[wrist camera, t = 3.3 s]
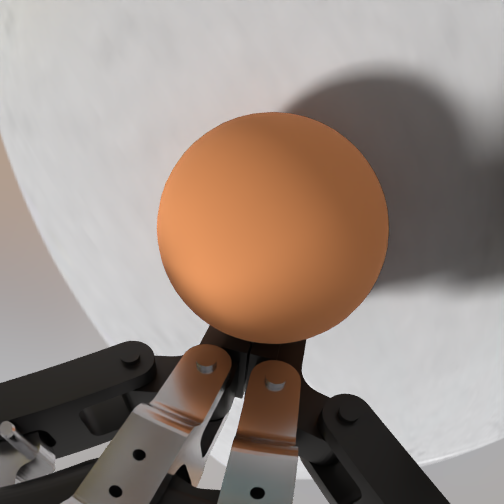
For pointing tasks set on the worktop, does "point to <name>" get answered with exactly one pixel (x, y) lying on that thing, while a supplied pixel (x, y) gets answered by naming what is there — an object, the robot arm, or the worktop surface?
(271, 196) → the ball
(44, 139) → the worktop surface
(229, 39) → the worktop surface
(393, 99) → the worktop surface
